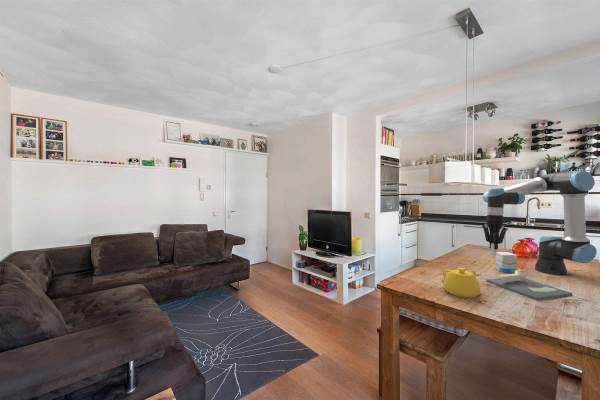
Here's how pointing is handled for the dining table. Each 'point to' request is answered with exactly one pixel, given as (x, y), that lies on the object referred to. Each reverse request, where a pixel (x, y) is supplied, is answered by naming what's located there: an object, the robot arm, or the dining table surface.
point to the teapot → (461, 283)
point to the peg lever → (513, 276)
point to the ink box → (506, 262)
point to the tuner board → (531, 289)
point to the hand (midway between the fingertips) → (493, 254)
